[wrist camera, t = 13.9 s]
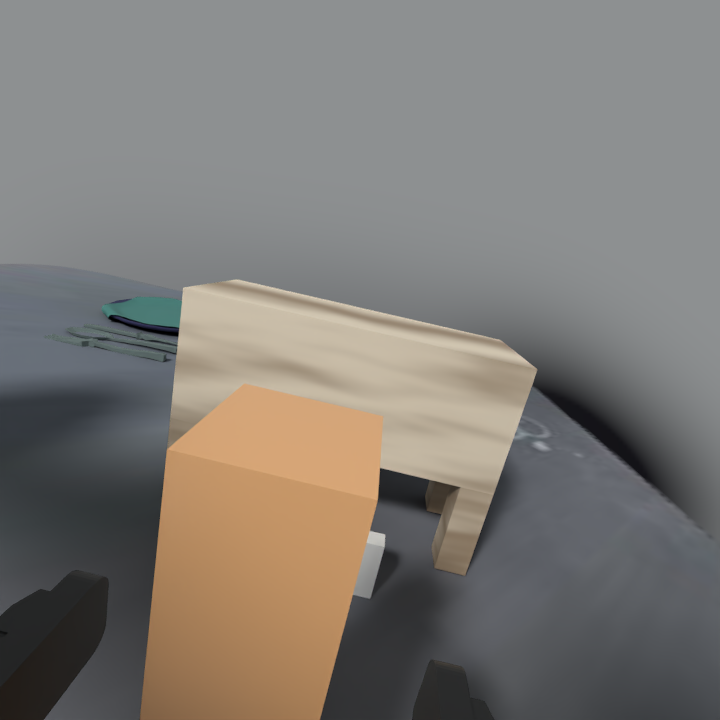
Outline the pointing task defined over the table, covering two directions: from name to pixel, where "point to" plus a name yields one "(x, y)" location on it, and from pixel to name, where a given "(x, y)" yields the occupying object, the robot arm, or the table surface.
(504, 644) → the table surface
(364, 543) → the orange post on base
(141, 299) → the cutlery set
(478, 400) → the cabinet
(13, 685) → the robot arm
